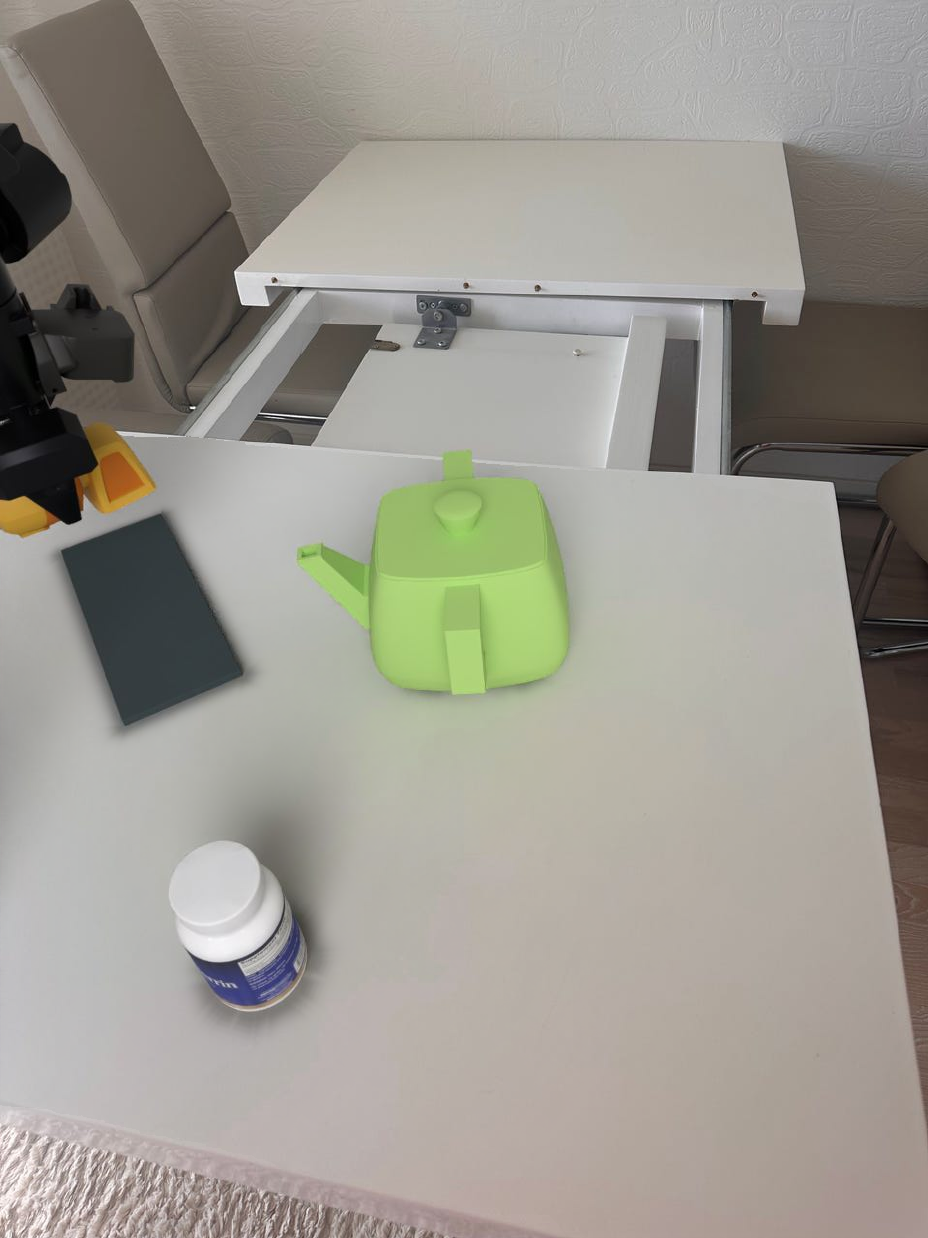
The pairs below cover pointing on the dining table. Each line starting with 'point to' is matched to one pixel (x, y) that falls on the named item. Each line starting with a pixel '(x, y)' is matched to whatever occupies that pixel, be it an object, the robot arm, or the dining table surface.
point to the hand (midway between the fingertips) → (66, 500)
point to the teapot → (456, 583)
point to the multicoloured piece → (88, 484)
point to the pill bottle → (237, 925)
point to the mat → (148, 619)
